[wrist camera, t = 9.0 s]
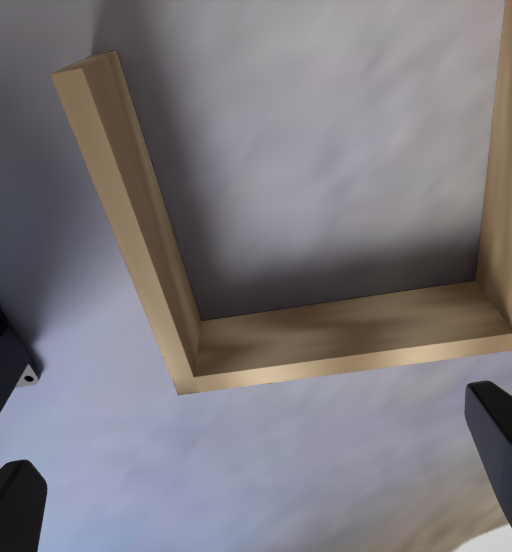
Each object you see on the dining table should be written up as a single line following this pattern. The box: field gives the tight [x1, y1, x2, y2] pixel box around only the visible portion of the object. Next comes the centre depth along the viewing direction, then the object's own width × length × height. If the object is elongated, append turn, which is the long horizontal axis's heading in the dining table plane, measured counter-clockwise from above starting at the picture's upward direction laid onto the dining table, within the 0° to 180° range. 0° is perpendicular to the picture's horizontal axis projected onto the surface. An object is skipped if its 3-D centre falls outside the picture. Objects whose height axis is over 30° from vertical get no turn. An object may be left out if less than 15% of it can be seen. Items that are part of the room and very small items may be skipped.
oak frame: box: [50, 0, 512, 395], centre depth 18 cm, size 16×14×4 cm
